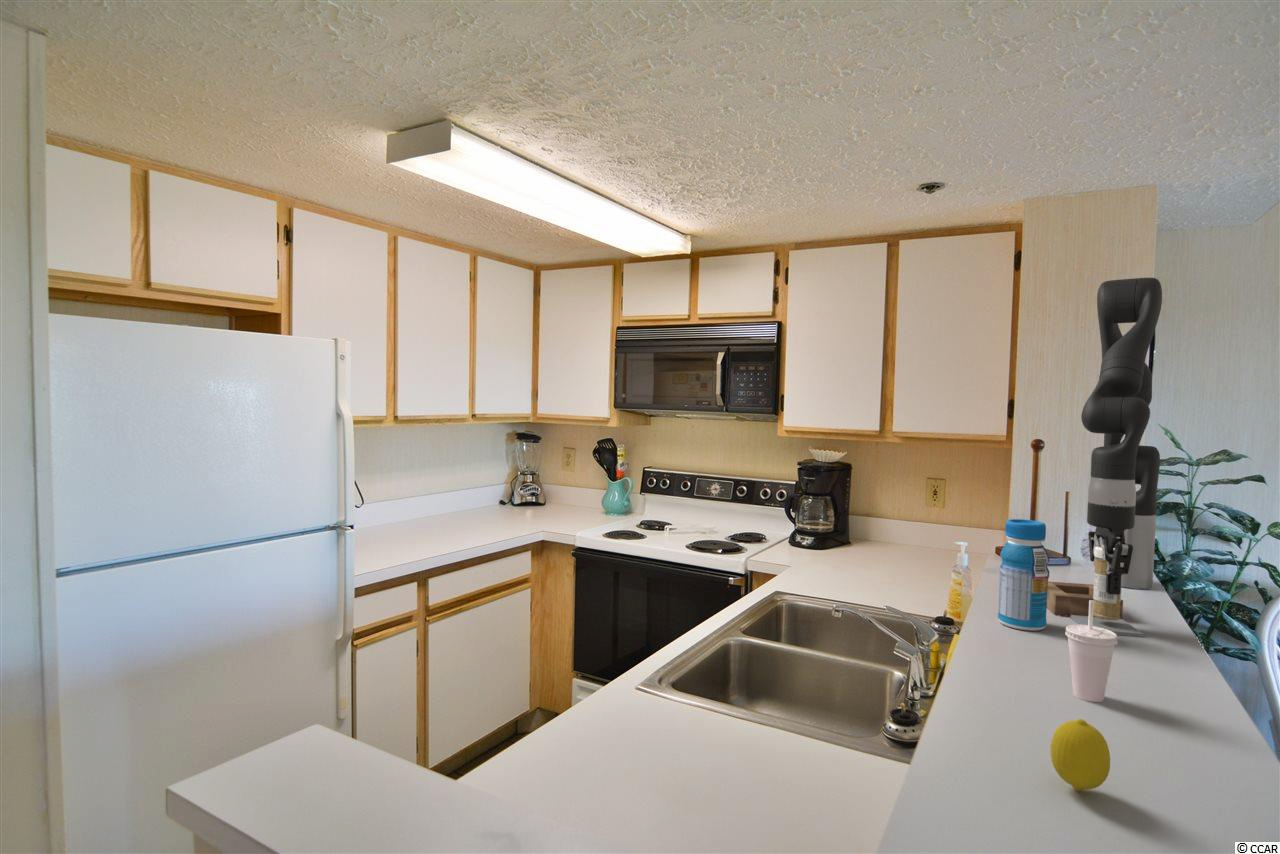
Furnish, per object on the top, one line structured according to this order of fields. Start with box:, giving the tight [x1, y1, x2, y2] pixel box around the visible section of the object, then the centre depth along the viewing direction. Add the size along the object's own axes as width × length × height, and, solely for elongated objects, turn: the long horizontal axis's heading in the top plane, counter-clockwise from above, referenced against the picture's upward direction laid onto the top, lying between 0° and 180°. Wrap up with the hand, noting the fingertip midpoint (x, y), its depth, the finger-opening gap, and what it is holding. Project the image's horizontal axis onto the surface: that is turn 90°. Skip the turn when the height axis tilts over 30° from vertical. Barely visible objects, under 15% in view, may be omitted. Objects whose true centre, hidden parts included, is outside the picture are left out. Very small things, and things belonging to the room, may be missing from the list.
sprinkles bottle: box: [1093, 547, 1122, 620], centre depth 132 cm, size 5×5×14 cm
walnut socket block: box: [1046, 580, 1124, 619], centre depth 144 cm, size 12×12×4 cm
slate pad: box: [1070, 615, 1145, 638], centre depth 132 cm, size 9×9×1 cm
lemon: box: [1050, 718, 1111, 793], centre depth 76 cm, size 6×6×8 cm
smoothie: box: [1064, 600, 1119, 703], centre depth 100 cm, size 6×6×14 cm
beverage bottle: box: [997, 518, 1050, 632], centre depth 133 cm, size 8×8×20 cm
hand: (1107, 589), depth 132 cm, fingers closed on sprinkles bottle, 4 cm apart
